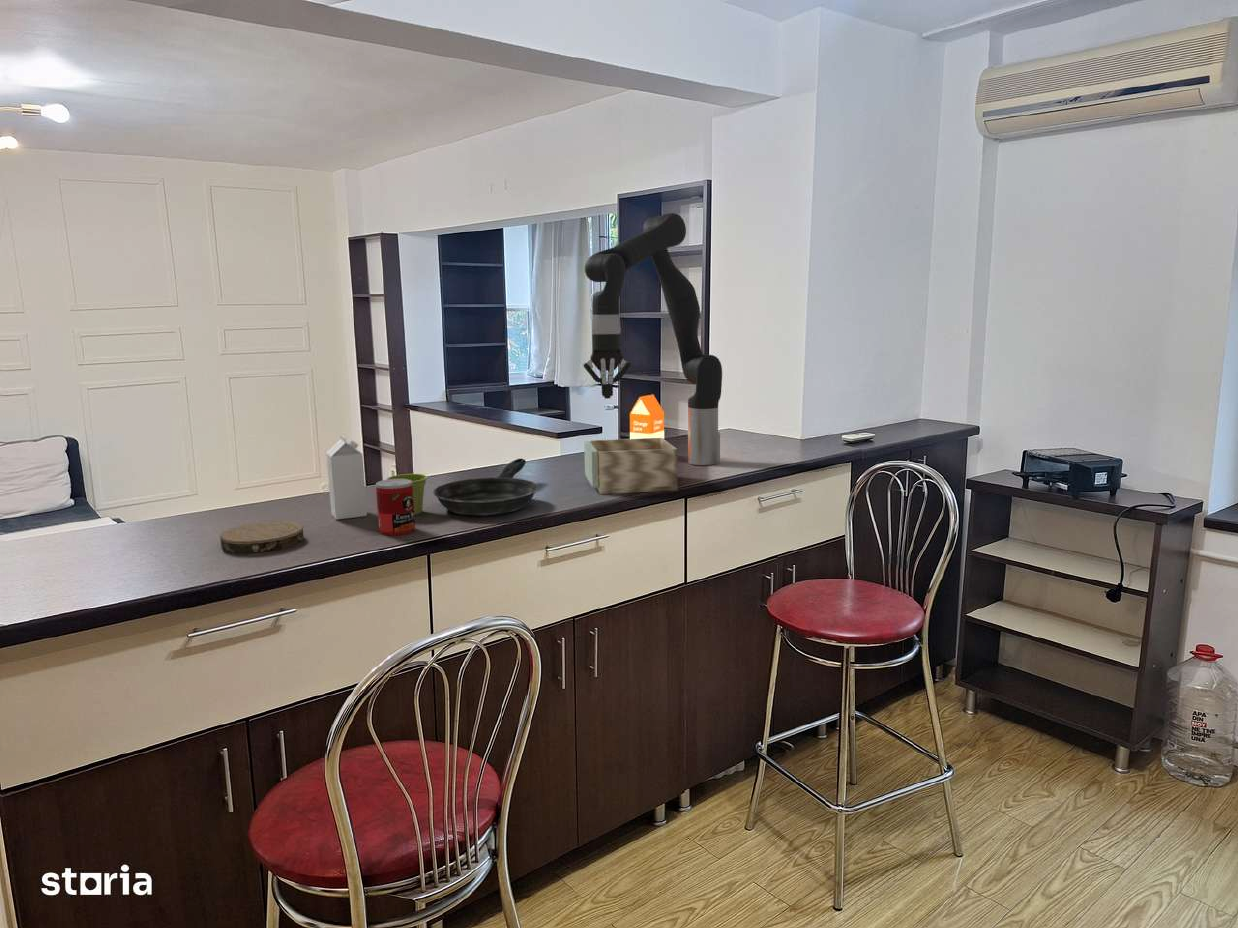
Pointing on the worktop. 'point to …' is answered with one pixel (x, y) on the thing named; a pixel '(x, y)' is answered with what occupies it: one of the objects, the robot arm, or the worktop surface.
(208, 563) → the worktop surface
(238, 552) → the brown flat disc
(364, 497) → the milk carton
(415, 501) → the plant pot
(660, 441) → the crate
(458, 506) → the frying pan
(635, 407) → the orange juice
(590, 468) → the tailgate
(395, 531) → the canned food
